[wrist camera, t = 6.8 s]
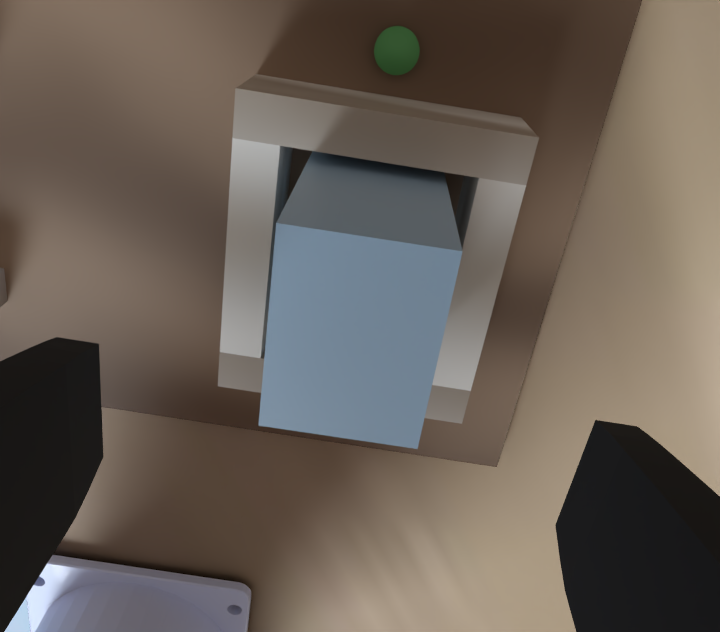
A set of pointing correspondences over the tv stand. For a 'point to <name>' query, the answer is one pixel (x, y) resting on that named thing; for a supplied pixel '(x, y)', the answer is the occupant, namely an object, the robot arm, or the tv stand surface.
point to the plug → (359, 300)
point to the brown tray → (286, 179)
